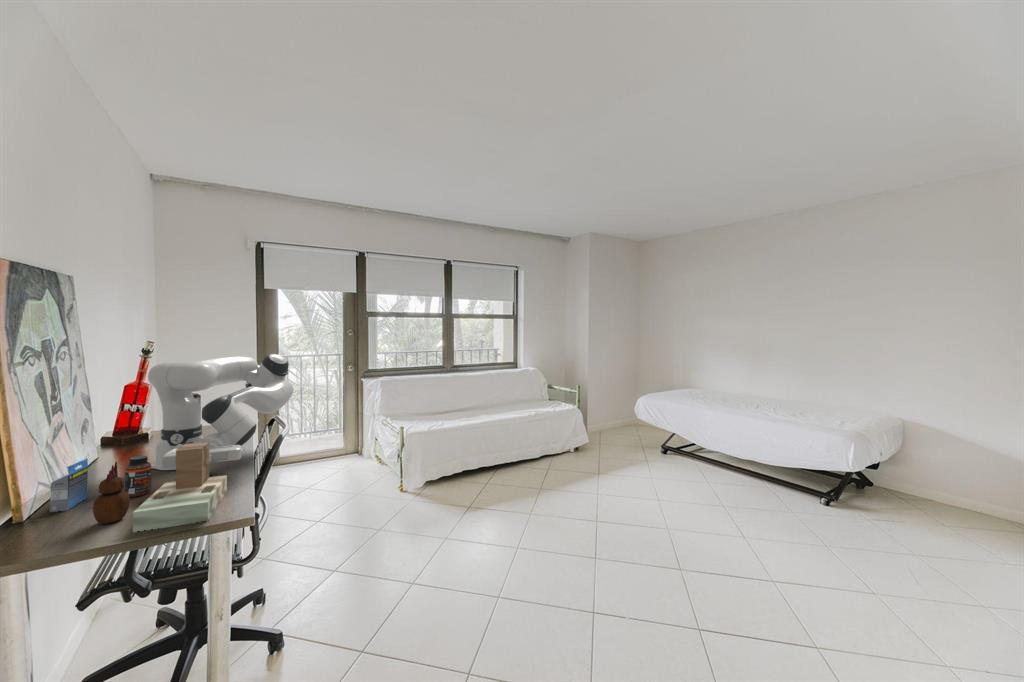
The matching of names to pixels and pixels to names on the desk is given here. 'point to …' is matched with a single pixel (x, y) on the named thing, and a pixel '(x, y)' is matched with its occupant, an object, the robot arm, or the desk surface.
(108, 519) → the wooden figurine
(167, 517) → the trap runway
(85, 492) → the label tape box
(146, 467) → the supplement bottle
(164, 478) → the desk surface
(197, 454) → the walnut block
